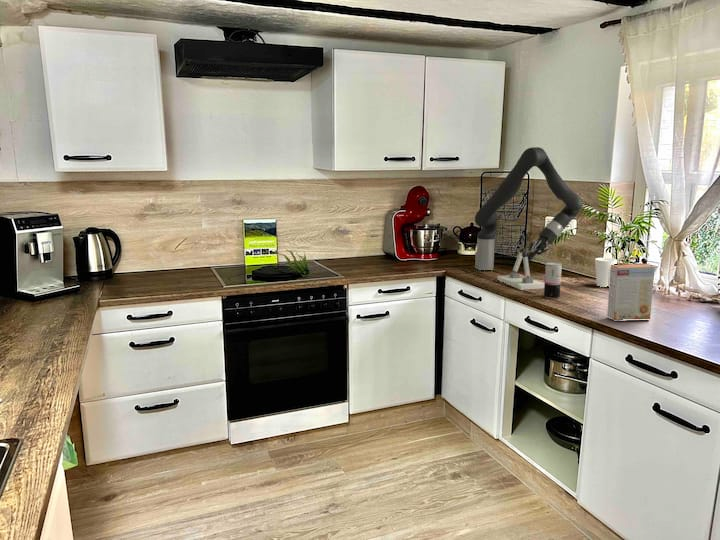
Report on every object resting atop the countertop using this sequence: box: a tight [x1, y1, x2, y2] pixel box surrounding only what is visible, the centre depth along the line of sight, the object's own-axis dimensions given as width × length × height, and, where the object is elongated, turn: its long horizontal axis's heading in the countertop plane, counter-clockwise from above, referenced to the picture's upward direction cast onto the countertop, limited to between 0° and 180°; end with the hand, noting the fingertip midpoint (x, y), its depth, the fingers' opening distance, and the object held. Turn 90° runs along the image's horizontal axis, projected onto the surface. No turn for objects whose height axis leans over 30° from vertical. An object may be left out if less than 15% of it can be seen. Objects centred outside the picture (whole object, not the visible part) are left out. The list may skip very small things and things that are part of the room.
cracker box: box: [606, 263, 655, 320], centre depth 203 cm, size 14×6×21 cm, turn 92°
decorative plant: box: [271, 244, 310, 276], centre depth 295 cm, size 18×30×15 cm, turn 16°
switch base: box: [496, 272, 545, 291], centre depth 265 cm, size 13×22×4 cm, turn 15°
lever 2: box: [522, 251, 531, 278], centre depth 257 cm, size 3×3×13 cm
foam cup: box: [594, 257, 618, 288], centre depth 257 cm, size 10×9×13 cm
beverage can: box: [543, 261, 562, 300], centre depth 238 cm, size 7×7×15 cm
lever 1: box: [511, 247, 526, 273], centre depth 269 cm, size 3×3×13 cm
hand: (527, 259), depth 256 cm, fingers closed
